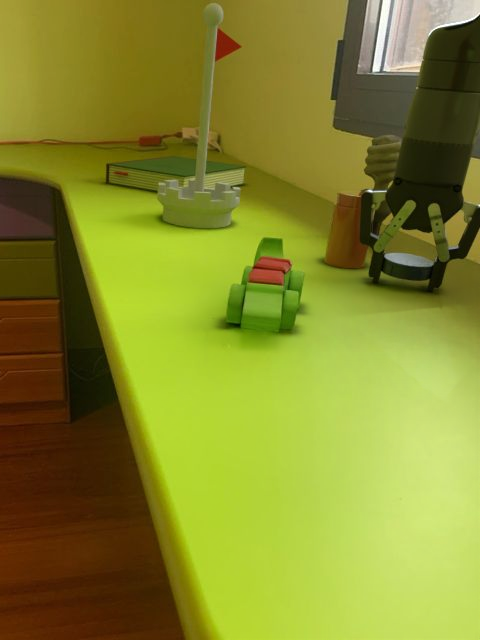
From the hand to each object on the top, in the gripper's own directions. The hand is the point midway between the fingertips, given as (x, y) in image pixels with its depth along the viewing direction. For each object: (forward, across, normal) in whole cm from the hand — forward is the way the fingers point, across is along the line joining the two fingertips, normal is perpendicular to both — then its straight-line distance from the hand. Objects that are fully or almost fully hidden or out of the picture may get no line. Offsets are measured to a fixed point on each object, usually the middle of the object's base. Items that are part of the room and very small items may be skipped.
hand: (402, 285), depth 83 cm
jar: (0, -8, +7) cm, 11 cm away
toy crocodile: (0, -12, -20) cm, 23 cm away
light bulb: (+1, -6, +24) cm, 25 cm away
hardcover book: (+2, -49, +55) cm, 74 cm away
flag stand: (+1, -34, +22) cm, 40 cm away
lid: (-3, 0, 0) cm, 3 cm away
